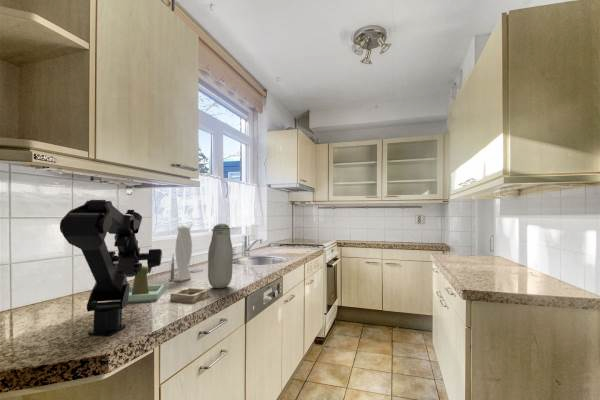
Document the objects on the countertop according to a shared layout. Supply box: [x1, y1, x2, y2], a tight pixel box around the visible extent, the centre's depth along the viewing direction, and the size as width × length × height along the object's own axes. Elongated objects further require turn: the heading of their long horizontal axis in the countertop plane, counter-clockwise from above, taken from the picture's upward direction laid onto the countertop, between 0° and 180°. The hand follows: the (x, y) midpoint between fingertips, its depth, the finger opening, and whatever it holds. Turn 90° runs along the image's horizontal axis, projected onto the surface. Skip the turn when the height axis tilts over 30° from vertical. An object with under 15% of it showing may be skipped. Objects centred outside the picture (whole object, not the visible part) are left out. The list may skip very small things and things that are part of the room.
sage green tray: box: [110, 284, 166, 304], centre depth 114 cm, size 15×15×2 cm
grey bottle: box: [207, 223, 234, 289], centre depth 130 cm, size 10×10×28 cm
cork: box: [132, 265, 149, 295], centre depth 115 cm, size 6×6×11 cm
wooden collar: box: [169, 287, 210, 304], centre depth 113 cm, size 10×10×2 cm
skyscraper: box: [169, 221, 193, 283], centre depth 145 cm, size 8×8×28 cm
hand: (135, 273), depth 107 cm, fingers open, 9 cm apart
